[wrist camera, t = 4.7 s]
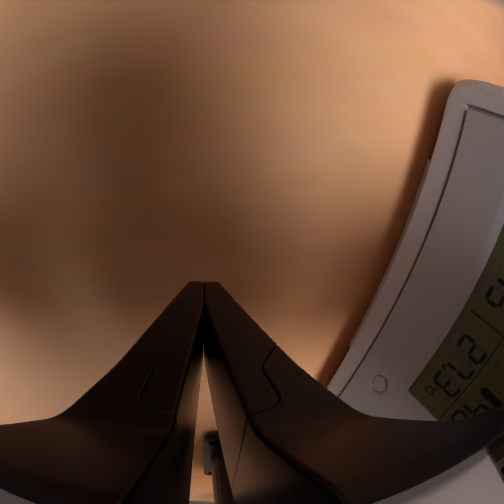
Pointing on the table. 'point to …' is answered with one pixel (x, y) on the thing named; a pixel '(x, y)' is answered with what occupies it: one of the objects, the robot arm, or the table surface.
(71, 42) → the table surface
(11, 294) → the table surface
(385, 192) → the table surface
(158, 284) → the table surface
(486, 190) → the digital clock
